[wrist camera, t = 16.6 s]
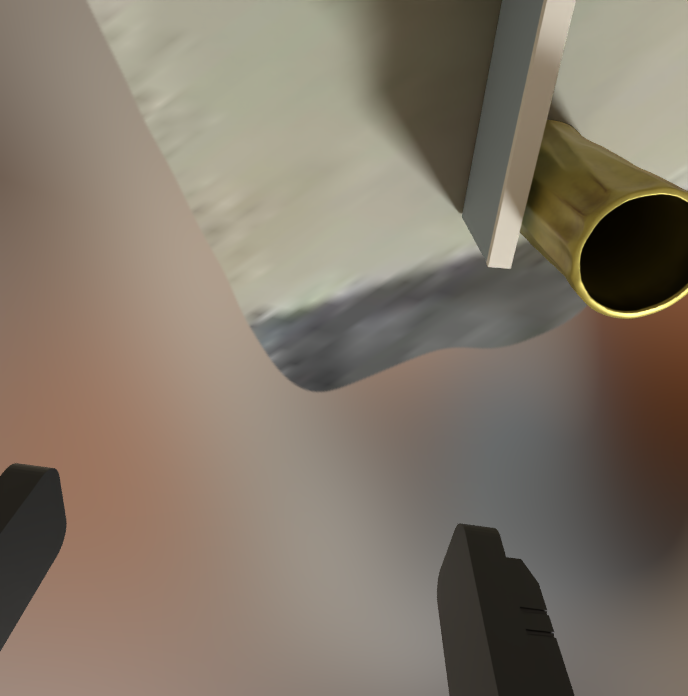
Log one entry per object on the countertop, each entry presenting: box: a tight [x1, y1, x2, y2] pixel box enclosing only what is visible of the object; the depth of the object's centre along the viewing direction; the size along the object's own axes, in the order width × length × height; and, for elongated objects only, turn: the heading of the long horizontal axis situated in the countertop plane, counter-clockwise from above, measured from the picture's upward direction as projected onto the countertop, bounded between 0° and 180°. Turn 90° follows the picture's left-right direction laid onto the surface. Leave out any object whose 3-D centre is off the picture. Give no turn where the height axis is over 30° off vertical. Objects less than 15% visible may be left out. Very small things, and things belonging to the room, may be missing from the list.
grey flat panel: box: [462, 0, 576, 269], centre depth 27 cm, size 14×1×9 cm, turn 176°
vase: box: [520, 120, 688, 319], centre depth 26 cm, size 6×6×14 cm
